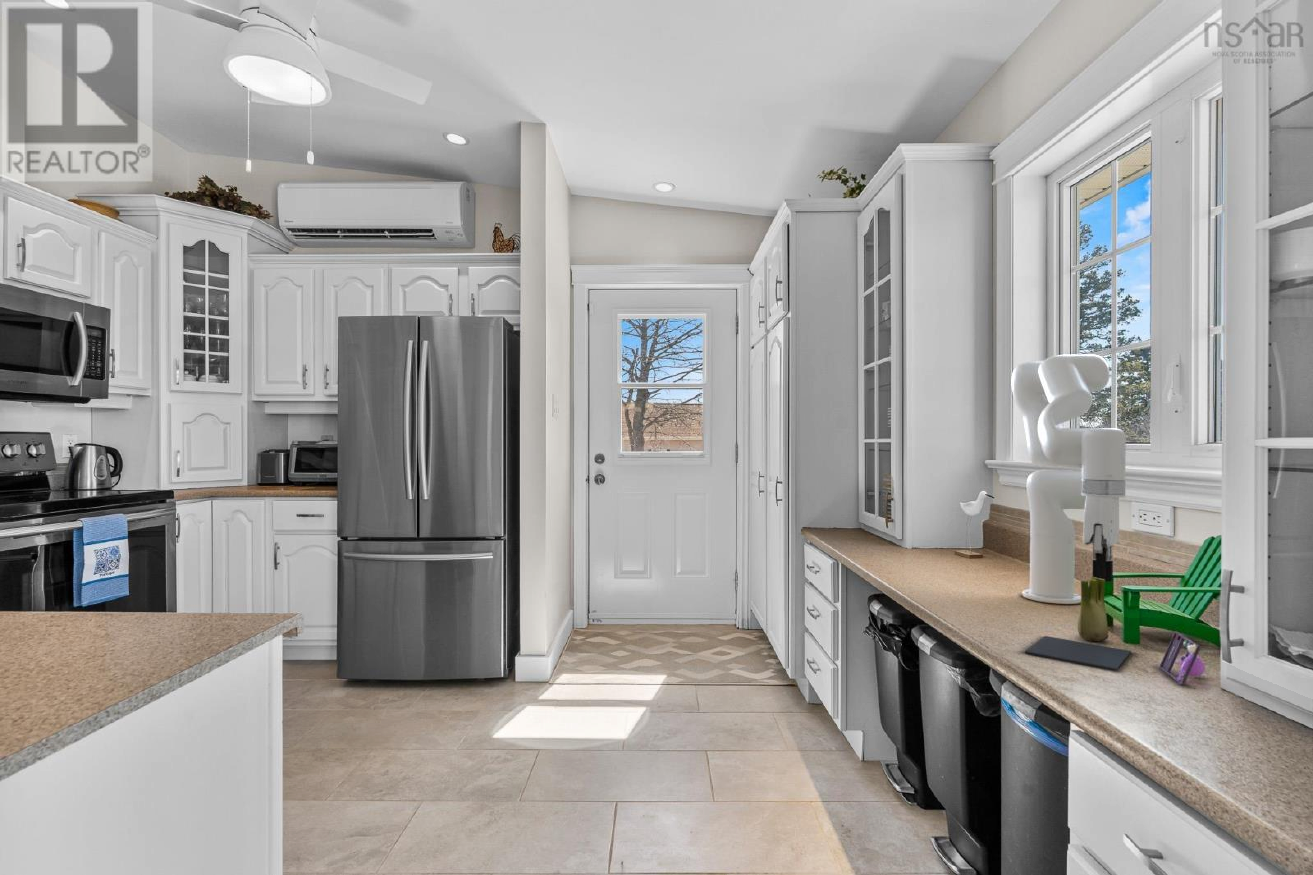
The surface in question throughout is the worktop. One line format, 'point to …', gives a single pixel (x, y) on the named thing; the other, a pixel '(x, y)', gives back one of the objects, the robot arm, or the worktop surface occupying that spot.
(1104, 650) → the mat
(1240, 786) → the worktop surface
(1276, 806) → the worktop surface
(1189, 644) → the purple toy package
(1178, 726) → the worktop surface
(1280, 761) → the worktop surface
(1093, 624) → the fennel bulb
